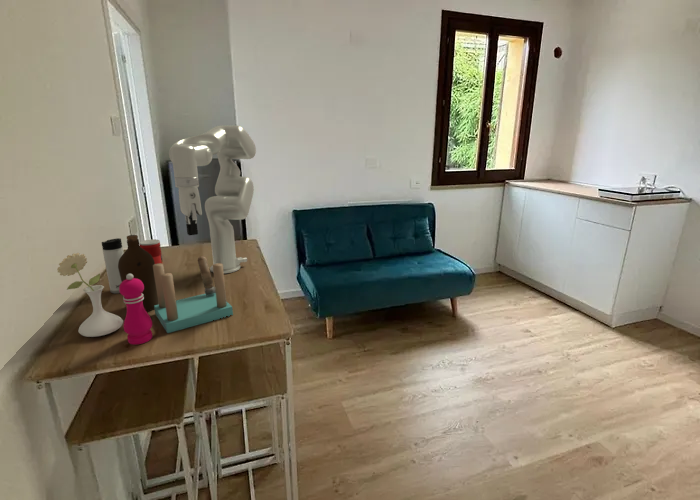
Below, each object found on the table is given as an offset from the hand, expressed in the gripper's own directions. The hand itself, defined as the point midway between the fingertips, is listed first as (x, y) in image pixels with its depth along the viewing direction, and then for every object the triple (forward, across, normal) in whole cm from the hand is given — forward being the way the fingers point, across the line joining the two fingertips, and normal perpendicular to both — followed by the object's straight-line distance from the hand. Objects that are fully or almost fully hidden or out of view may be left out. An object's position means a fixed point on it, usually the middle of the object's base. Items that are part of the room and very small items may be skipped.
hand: (192, 234), depth 139 cm
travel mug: (+22, +19, +23) cm, 37 cm away
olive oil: (+22, -2, +19) cm, 30 cm away
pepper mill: (+23, -25, +24) cm, 41 cm away
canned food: (+22, +43, +7) cm, 49 cm away
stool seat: (+22, -18, +7) cm, 30 cm away
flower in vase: (+23, -13, +33) cm, 42 cm away
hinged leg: (+19, -13, 0) cm, 23 cm away
